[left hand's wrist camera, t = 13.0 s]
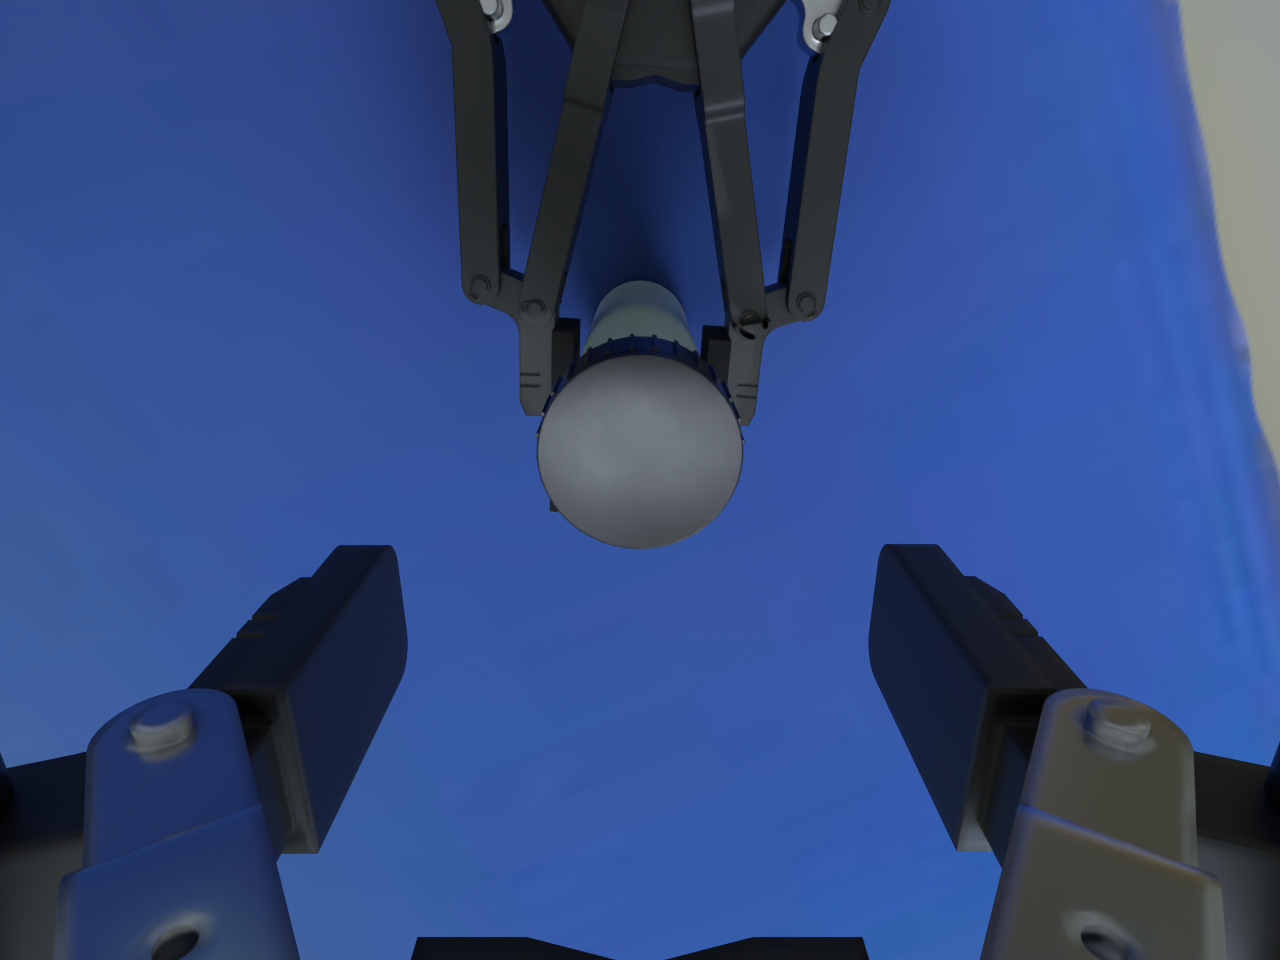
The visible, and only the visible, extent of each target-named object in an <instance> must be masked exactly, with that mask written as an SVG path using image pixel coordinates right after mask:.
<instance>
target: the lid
mask: <svg viewBox="0 0 1280 960" xmlns="http://www.w3.org/2000/svg"><path fill="white" fill-rule="evenodd" d="M541 416H543V419H542V421H541V423H540V426H539V428H538V431H537V433H536V438H538V440H537V455H536V457H537V462H538V469H539V473H540V477H541V481H542V483H543V486H544V488H545V491H546V493H547V495H548V496H549V498H550V500H551V502H552V503H553V505H554V506H555V507H556V509H557V510H558V511H559V513H560V514H561V515H562V516H563V517H564V518H565V519H566V520H567V521H568V522H569V523H571V524H572V525H573V526H574V527H576V528H577V529H578V530H580V531H581V532H583V533H585V534H586V535H588V536H590V537H592V538H594V539H596V540H598V541H600V542H603V543H607V544H610V545H613V546H618V547H623V548H632V549H649V548H657V547H663V546H667V545H670V544H674V543H677V542H679V541H682V540H684V539H686V538H689V537H690V536H692V535H694V534H695V533H697V532H699V531H700V530H702V529H703V528H704V527H706V526H707V525H708V524H710V523H711V522H712V521H713V520H714V519H715V518H716V517H717V516H718V515H719V514H720V512H721V511H722V510H723V509H724V507H725V506H726V505H727V503H728V501H729V500H730V498H731V496H732V495H733V493H734V491H735V488H736V486H737V484H738V481H739V477H740V474H741V470H742V463H743V444H744V438H743V436H742V433H741V429H740V425H739V423H740V422H741V418H740V416H739V413H738V411H737V409H736V406H735V404H734V402H733V399H732V396H731V394H730V392H729V389H728V387H727V385H726V383H725V381H723V382H721V381H720V379H719V377H718V375H717V373H716V370H715V368H714V366H713V365H712V364H710V365H708V364H707V363H706V362H705V361H704V360H703V359H702V358H701V357H699V354H698V352H697V351H696V350H694V351H693V352H692V351H691V350H689V349H687V348H685V347H683V346H681V345H679V342H678V341H677V340H674V342H671V341H669V340H665V339H661V338H657V335H655V334H652V337H647V336H634V334H630V337H624V338H619V339H615V340H613V339H612V338H608V341H607V342H605V343H603V344H601V345H599V346H597V347H595V348H592V347H591V346H590V347H589V348H588V349H587V352H586V353H585V354H583V355H582V356H581V357H580V358H578V359H577V360H576V361H575V360H574V359H573V360H572V361H571V362H570V364H569V367H568V369H567V371H566V372H565V373H564V375H563V376H562V377H560V376H558V378H557V379H556V382H555V384H554V387H553V389H552V391H551V394H550V395H549V396H548V398H547V400H546V403H545V405H544V407H543V410H542V412H541Z"/></svg>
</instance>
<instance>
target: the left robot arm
mask: <svg viewBox="0 0 1280 960" xmlns="http://www.w3.org/2000/svg"><path fill="white" fill-rule="evenodd" d="M407 649H408V640H407V630H406V622H405V614H404V606H403V599H402V591H401V583H400V576H399V568H398V561H397V556H396V553H395V551H394V549H393V547H392V546H390V545H339V546H337V547H336V548H335V549H334V550H333V552H332V553H331V554H330V555H329V556H328V558H327V559H326V560H325V561H324V562H323V564H322V565H321V566H320V567H319V568H318V570H317V571H316V572H315V573H314V574H313V576H312V577H301V578H299V579H297V580H296V581H294V582H292V583H291V584H289V585H287V586H286V587H284V588H282V589H281V590H279V591H277V592H275V593H274V594H272V595H271V596H270V597H269V598H268V599H267V600H266V601H265V602H264V603H263V605H262V606H261V607H260V608H259V609H258V610H257V611H256V612H255V614H254V615H253V616H252V620H248V621H247V623H246V624H245V625H244V626H243V627H242V628H241V629H240V630H239V631H238V633H237V637H236V638H232V639H231V640H230V642H229V643H228V644H227V645H226V646H225V647H224V648H223V649H222V651H221V652H220V653H219V654H218V655H217V656H216V657H215V658H214V659H213V661H212V662H211V663H210V664H209V665H208V666H207V667H206V668H205V670H204V671H203V672H202V673H201V674H200V675H199V676H198V677H197V678H196V680H195V681H194V682H193V683H192V684H191V685H190V686H189V687H188V689H184V690H178V691H173V692H169V693H165V694H161V695H158V696H155V697H152V698H149V699H147V700H144V701H142V702H140V703H137V704H135V705H133V706H131V707H129V708H127V709H125V710H124V711H122V712H121V713H119V714H117V715H116V716H114V717H113V718H112V719H110V720H109V721H108V722H107V723H105V724H104V725H103V726H102V727H101V728H100V729H99V730H98V731H97V732H96V734H95V735H94V736H93V738H92V739H91V741H90V743H89V745H88V748H87V752H83V753H79V754H74V755H70V756H65V757H60V758H55V759H50V760H45V761H40V762H35V763H30V764H25V765H20V766H16V767H11V768H6V766H5V764H4V761H3V758H2V756H1V753H0V960H300V957H299V953H298V949H297V945H296V941H295V937H294V933H293V929H292V925H291V921H290V917H289V913H288V908H287V904H286V900H285V896H284V892H283V888H282V884H281V880H280V876H279V872H278V868H277V864H276V862H277V860H278V858H279V857H280V855H281V854H318V852H319V850H320V848H321V846H322V844H323V841H324V839H325V837H326V835H327V833H328V831H329V829H330V827H331V825H332V823H333V821H334V819H335V816H336V814H337V812H338V810H339V808H340V806H341V804H342V802H343V800H344V798H345V796H346V794H347V791H348V789H349V787H350V785H351V783H352V781H353V779H354V777H355V775H356V773H357V771H358V769H359V766H360V764H361V762H362V760H363V758H364V756H365V754H366V752H367V750H368V748H369V746H370V744H371V741H372V739H373V737H374V735H375V733H376V731H377V729H378V727H379V725H380V723H381V721H382V719H383V716H384V714H385V712H386V710H387V708H388V706H389V704H390V702H391V700H392V698H393V696H394V694H395V691H396V689H397V687H398V685H399V683H400V681H401V679H402V676H403V673H404V670H405V666H406V660H407ZM869 657H870V664H871V668H872V672H873V675H874V677H875V680H876V682H877V684H878V686H879V688H880V690H881V692H882V694H883V697H884V699H885V701H886V703H887V705H888V707H889V709H890V711H891V713H892V716H893V718H894V720H895V722H896V724H897V726H898V728H899V730H900V732H901V735H902V737H903V739H904V741H905V743H906V745H907V747H908V749H909V751H910V754H911V756H912V758H913V760H914V762H915V764H916V766H917V768H918V771H919V773H920V775H921V777H922V779H923V781H924V783H925V785H926V787H927V790H928V792H929V794H930V796H931V798H932V800H933V802H934V804H935V806H936V809H937V811H938V813H939V815H940V817H941V819H942V821H943V823H944V825H945V828H946V830H947V832H948V834H949V836H950V838H951V840H952V842H953V844H954V847H955V849H956V851H993V852H994V854H995V856H996V858H997V860H998V862H999V864H1000V866H1001V868H1002V872H1001V876H1000V880H999V884H998V888H997V892H996V896H995V900H994V904H993V908H992V912H991V917H990V921H989V925H988V929H987V933H986V937H985V941H984V945H983V949H982V953H981V957H980V960H1280V743H1279V746H1278V748H1277V751H1276V753H1275V756H1274V759H1273V761H1272V764H1271V767H1269V766H1264V765H1259V764H1254V763H1249V762H1244V761H1239V760H1234V759H1229V758H1224V757H1219V756H1214V755H1210V754H1205V753H1200V752H1195V751H1193V748H1192V745H1191V743H1190V741H1189V739H1188V738H1187V736H1186V735H1185V734H1184V732H1183V731H1182V730H1181V729H1180V728H1179V727H1178V726H1177V725H1176V724H1175V723H1173V722H1172V721H1171V720H1170V719H1168V718H1167V717H1166V716H1164V715H1163V714H1161V713H1159V712H1158V711H1156V710H1155V709H1153V708H1151V707H1149V706H1147V705H1145V704H1143V703H1140V702H1138V701H1136V700H1133V699H1131V698H1128V697H1125V696H1122V695H1119V694H1115V693H1111V692H1107V691H1102V690H1096V689H1088V688H1087V687H1086V686H1085V685H1084V684H1083V682H1082V681H1081V680H1080V679H1079V678H1078V677H1077V676H1076V675H1075V673H1074V672H1073V671H1072V670H1071V669H1070V668H1069V667H1068V665H1067V664H1066V663H1065V662H1064V661H1063V660H1062V659H1061V658H1060V656H1059V655H1058V654H1057V653H1056V652H1055V651H1054V650H1053V649H1052V647H1051V646H1050V645H1049V644H1048V643H1047V642H1046V641H1045V639H1044V638H1043V637H1038V632H1037V630H1036V629H1035V628H1034V627H1033V626H1032V625H1031V624H1030V622H1029V621H1028V620H1027V619H1023V615H1022V613H1021V612H1020V611H1019V610H1018V609H1017V608H1016V607H1015V606H1014V604H1013V603H1012V602H1011V601H1010V600H1009V599H1008V598H1007V596H1006V595H1005V594H1003V593H1002V592H1000V591H998V590H997V589H995V588H993V587H992V586H990V585H988V584H987V583H985V582H983V581H982V580H980V579H978V578H977V577H975V576H964V575H963V574H962V573H961V572H960V571H959V569H958V568H957V567H956V566H955V565H954V563H953V562H952V561H951V560H950V558H949V557H948V556H947V555H946V554H945V552H944V551H943V550H942V549H941V548H940V547H939V546H938V545H936V544H886V545H884V546H883V548H882V549H881V552H880V555H879V560H878V567H877V575H876V583H875V590H874V598H873V606H872V614H871V622H870V630H869ZM411 960H614V959H610V958H606V957H602V956H598V955H594V954H591V953H587V952H583V951H579V950H575V949H571V948H567V947H563V946H559V945H555V944H552V943H548V942H544V941H540V940H536V939H532V938H528V937H417V941H416V944H415V947H414V951H413V954H412V958H411ZM666 960H869V958H868V954H867V951H866V947H865V944H864V941H863V937H752V938H748V939H744V940H740V941H736V942H732V943H728V944H725V945H721V946H717V947H713V948H709V949H705V950H701V951H697V952H693V953H689V954H686V955H682V956H678V957H674V958H670V959H666Z"/></svg>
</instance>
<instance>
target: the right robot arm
mask: <svg viewBox="0 0 1280 960" xmlns="http://www.w3.org/2000/svg"><path fill="white" fill-rule="evenodd" d="M785 1H786V0H542V2H543V4H544V5H545V7H546V9H547V10H548V12H549V14H550V15H551V17H552V19H553V20H554V22H555V24H556V25H557V27H558V29H559V30H560V32H561V34H562V35H563V37H564V39H565V40H566V42H567V44H568V45H569V47H570V49H571V50H572V52H573V54H572V58H571V63H570V67H569V72H568V76H567V80H566V85H565V91H564V99H563V106H562V111H561V116H560V120H559V124H558V129H557V133H556V138H555V142H554V146H553V151H552V155H551V160H550V164H549V168H548V173H547V177H546V182H545V186H544V190H543V195H542V199H541V204H540V208H539V212H538V217H537V221H536V225H535V230H534V234H533V239H532V243H531V247H530V252H529V256H528V261H527V265H526V269H525V274H522V273H520V272H517V271H515V270H513V269H510V225H509V174H508V123H507V75H506V61H505V55H504V49H503V44H502V40H501V37H504V36H506V35H508V34H510V33H511V31H512V30H513V29H514V27H515V25H516V22H517V7H516V3H517V0H436V3H437V5H438V8H439V11H440V14H441V17H442V19H443V22H444V25H445V28H446V31H447V33H448V36H449V39H450V42H451V45H452V64H453V87H454V111H455V134H456V158H457V182H458V205H459V229H460V252H461V276H462V288H463V292H464V294H465V295H466V297H467V298H468V299H469V300H470V301H472V302H473V303H476V304H480V305H482V304H486V305H488V306H491V307H493V308H496V309H498V310H500V311H503V312H505V313H507V314H508V315H510V316H511V317H512V318H513V319H514V321H515V322H516V324H517V326H518V329H519V335H520V403H521V405H522V408H523V410H524V412H525V415H532V416H541V412H542V410H543V407H544V405H545V403H546V400H547V398H548V396H549V395H550V394H551V391H552V389H553V387H554V384H555V382H556V379H557V378H558V376H560V377H562V376H563V375H564V373H565V372H566V371H567V369H568V367H569V364H570V362H571V361H572V360H573V359H574V360H575V361H576V360H577V359H578V358H579V355H580V319H575V318H559V306H560V304H561V302H562V300H561V298H562V294H563V290H564V286H565V282H566V278H567V274H568V270H569V266H570V262H571V258H572V254H573V250H574V246H575V242H576V238H577V234H578V230H579V226H580V222H581V218H582V214H583V210H584V206H585V201H586V197H587V193H588V189H589V185H590V181H591V177H592V173H593V169H594V165H595V161H596V157H597V153H598V149H599V145H600V141H601V137H602V133H603V129H604V125H605V121H606V118H607V115H608V112H609V108H610V104H611V100H612V96H613V92H614V88H615V87H620V88H632V87H637V86H641V85H645V84H649V83H658V84H661V85H664V86H666V87H669V88H672V89H675V90H677V91H688V92H693V95H694V102H695V109H696V116H697V121H698V125H699V130H700V137H701V144H702V152H703V159H704V166H705V174H706V181H707V188H708V195H709V203H710V210H711V217H712V225H713V232H714V239H715V247H716V254H717V261H718V269H719V276H720V283H721V290H722V298H723V305H724V312H725V324H724V326H708V325H703V331H702V343H701V355H700V357H701V358H702V359H703V360H704V361H705V362H706V363H707V364H708V365H710V364H712V365H713V366H714V368H715V370H716V373H717V375H718V377H719V379H720V381H721V382H723V381H725V383H726V385H727V387H728V389H729V392H730V394H731V396H732V399H733V402H734V404H735V406H736V409H737V411H738V413H739V416H740V418H741V422H740V423H739V425H740V426H748V425H749V423H750V421H751V419H752V418H753V416H754V414H755V409H756V400H757V391H758V382H759V373H760V364H761V355H762V347H763V343H764V340H765V338H766V337H767V335H768V334H769V333H770V332H771V331H772V330H774V329H775V328H778V327H780V326H783V325H786V324H790V323H793V322H796V321H803V322H804V321H811V320H813V319H814V318H816V317H818V315H819V314H820V313H821V312H822V310H823V307H824V303H825V296H826V290H827V283H828V276H829V270H830V263H831V256H832V249H833V243H834V236H835V229H836V223H837V216H838V209H839V202H840V196H841V189H842V182H843V176H844V169H845V162H846V156H847V149H848V142H849V135H850V129H851V122H852V115H853V109H854V102H855V95H856V88H857V82H858V75H859V69H860V67H861V65H862V63H863V61H864V59H865V57H866V55H867V53H868V51H869V48H870V46H871V44H872V42H873V40H874V38H875V36H876V34H877V32H878V30H879V28H880V26H881V24H882V21H883V19H884V17H885V15H886V13H887V11H888V8H889V5H890V1H891V0H789V1H791V2H792V3H793V4H794V5H795V7H796V8H797V10H798V13H799V26H798V32H797V41H798V44H799V47H800V48H801V49H802V51H803V52H804V53H806V54H807V55H809V56H810V59H809V61H808V65H807V68H806V72H805V75H804V79H803V84H802V90H801V96H800V104H799V112H798V120H797V128H796V136H795V144H794V152H793V160H792V168H791V176H790V184H789V192H788V200H787V208H786V216H785V224H784V232H783V240H782V248H781V256H780V263H779V271H778V279H777V283H775V284H772V285H768V286H765V287H764V279H763V270H762V262H761V253H760V245H759V236H758V227H757V219H756V210H755V202H754V193H753V185H752V176H751V167H750V159H749V150H748V142H747V133H746V125H745V97H744V87H743V79H742V70H741V60H742V58H743V57H744V56H745V54H746V53H747V52H748V50H749V49H750V48H751V46H752V45H753V44H754V42H755V41H756V40H757V38H758V37H759V36H760V35H761V33H762V32H763V31H764V29H765V28H766V27H767V25H768V24H769V23H770V21H771V20H772V19H773V17H774V16H775V15H776V13H777V12H778V11H779V9H780V8H781V7H782V5H783V4H784V3H785ZM550 511H558V510H557V509H556V507H555V506H554V505H553V503H552V502H551V500H550ZM558 512H559V511H558Z"/></svg>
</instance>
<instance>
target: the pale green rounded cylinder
mask: <svg viewBox="0 0 1280 960" xmlns="http://www.w3.org/2000/svg"><path fill="white" fill-rule="evenodd" d="M630 334H634V336H647V337H652V334H655V335H657V338H661V339H665V340H669V341H671V342H674V340H677V341H678V342H679V345H681V346H683V347H685V348H687V349H689V350H691V351H692V352H693V351H694V350H696V351H697V349H696V346H695V343H694V341H693V338H692V335H691V332H690V329H689V326H688V323H687V320H686V317H685V314H684V311H683V309H682V306H681V304H680V303H679V301H678V300H677V298H676V297H675V296H674V295H673V294H672V293H671V292H670V291H669V290H667V289H666V288H664V287H663V286H661V285H659V284H656V283H653V282H649V281H631V282H627V283H624V284H621V285H619V286H617V287H616V288H614V289H613V290H611V291H610V292H609V293H608V294H607V295H606V296H605V297H604V298H603V300H602V301H601V303H600V304H599V306H598V309H597V311H596V314H595V317H594V320H593V323H592V326H591V329H590V332H589V335H588V338H587V341H586V344H585V347H584V350H583V353H582V355H583V354H585V353H586V352H587V349H588V348H589V347H590V346H591V347H592V348H595V347H597V346H599V345H601V344H603V343H605V342H607V341H608V338H612V339H613V340H615V339H619V338H624V337H630Z"/></svg>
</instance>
